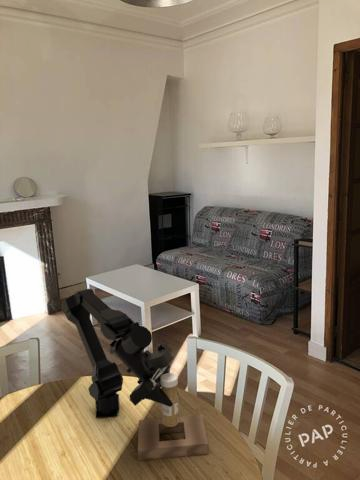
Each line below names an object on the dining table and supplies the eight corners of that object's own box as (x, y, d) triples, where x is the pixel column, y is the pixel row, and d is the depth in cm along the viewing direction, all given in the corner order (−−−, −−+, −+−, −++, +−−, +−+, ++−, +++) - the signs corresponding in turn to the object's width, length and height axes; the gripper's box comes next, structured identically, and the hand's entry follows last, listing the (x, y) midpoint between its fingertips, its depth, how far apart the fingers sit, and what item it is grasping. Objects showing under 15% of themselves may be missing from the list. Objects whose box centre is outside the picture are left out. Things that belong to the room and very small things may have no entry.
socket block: (138, 460, 107) (137, 450, 106) (139, 429, 118) (138, 420, 118) (208, 453, 108) (207, 443, 107) (202, 424, 120) (202, 414, 119)
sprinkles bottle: (182, 423, 111) (180, 377, 109) (167, 429, 109) (166, 383, 106) (173, 415, 115) (171, 370, 112) (158, 421, 113) (156, 375, 110)
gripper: (138, 357, 99) (184, 405, 99) (164, 325, 117) (204, 366, 116) (111, 382, 104) (154, 428, 103) (140, 347, 121) (178, 387, 120)
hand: (174, 400), depth 110 cm, fingers closed on sprinkles bottle, 4 cm apart
